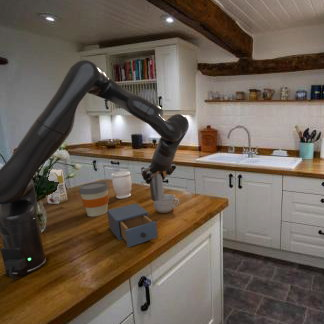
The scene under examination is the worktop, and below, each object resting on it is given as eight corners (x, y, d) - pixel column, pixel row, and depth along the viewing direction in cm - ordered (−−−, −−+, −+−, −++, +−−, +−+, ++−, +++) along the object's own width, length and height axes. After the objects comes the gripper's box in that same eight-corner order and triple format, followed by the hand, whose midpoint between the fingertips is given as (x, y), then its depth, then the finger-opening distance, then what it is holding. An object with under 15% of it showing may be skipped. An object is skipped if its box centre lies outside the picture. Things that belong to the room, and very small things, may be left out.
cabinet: (149, 230, 109) (148, 212, 107) (118, 240, 100) (116, 220, 98) (138, 219, 119) (136, 203, 117) (109, 228, 111) (107, 210, 109)
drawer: (158, 238, 100) (157, 222, 98) (129, 248, 92) (127, 232, 91) (145, 226, 110) (144, 212, 109) (117, 234, 103) (115, 219, 101)
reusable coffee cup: (113, 206, 136) (109, 180, 133) (109, 215, 124) (105, 187, 121) (86, 210, 131) (82, 183, 128) (80, 219, 120) (75, 190, 117)
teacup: (150, 212, 127) (148, 198, 126) (166, 205, 137) (164, 191, 135) (169, 217, 121) (168, 202, 119) (185, 210, 130) (184, 195, 129)
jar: (114, 195, 155) (112, 172, 152) (133, 192, 159) (130, 170, 156) (113, 200, 145) (110, 176, 142) (132, 197, 149) (130, 174, 146)
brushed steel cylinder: (161, 201, 103) (158, 173, 100) (149, 200, 103) (146, 173, 101) (166, 196, 108) (163, 170, 105) (154, 196, 108) (151, 170, 106)
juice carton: (58, 204, 139) (52, 172, 136) (45, 203, 141) (39, 171, 137) (69, 200, 147) (64, 169, 143) (57, 199, 148) (52, 168, 144)
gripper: (177, 147, 100) (167, 171, 111) (141, 151, 91) (134, 176, 102) (184, 161, 98) (173, 184, 109) (147, 167, 88) (139, 192, 99)
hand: (154, 180), depth 105 cm, fingers closed on brushed steel cylinder, 5 cm apart
